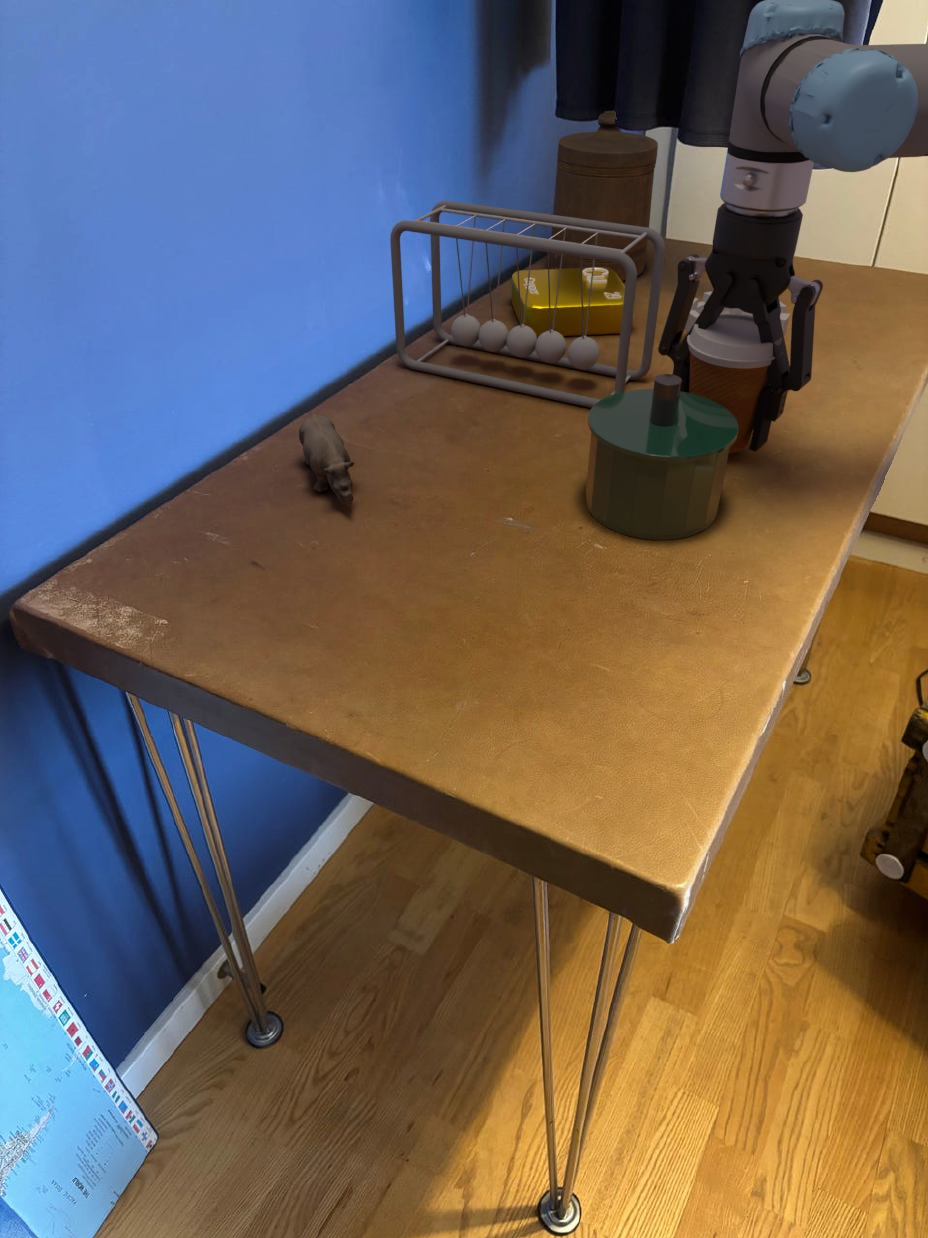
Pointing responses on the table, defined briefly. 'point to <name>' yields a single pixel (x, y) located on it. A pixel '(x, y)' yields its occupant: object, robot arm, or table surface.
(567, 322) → the element tile
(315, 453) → the rhino figurine
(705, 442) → the pot lid
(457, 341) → the newton's cradle
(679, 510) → the pot
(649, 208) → the wooden container
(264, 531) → the table surface
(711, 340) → the disposable coffee cup
